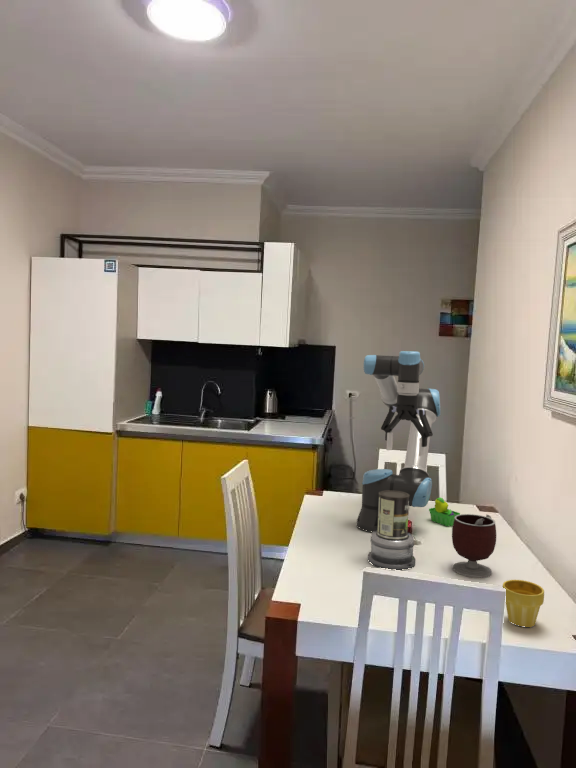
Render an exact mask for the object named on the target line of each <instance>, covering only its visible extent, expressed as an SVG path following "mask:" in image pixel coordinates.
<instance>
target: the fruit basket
mask: <svg viewBox="0 0 576 768" xmlns="http://www.w3.org/2000/svg"><path fill="white" fill-rule="evenodd" d="M434 503H435V504H434V507H431V508H428V511H429V515H430V519H431V522H434V523H437V524H439V525H442V526H445V527H453V523H454V518H455V516H457V515H461V512H458V511H456V510H455V511H454V510H451V509H448V507H449V503H448V502H447V501H445V500H444V499H443V497H437V498H436V499H435V500H434Z"/></svg>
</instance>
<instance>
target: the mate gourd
mask: <svg viewBox="0 0 576 768" xmlns="http://www.w3.org/2000/svg"><path fill="white" fill-rule="evenodd" d="M491 518H492V517H491ZM491 518H489V517H486V515H479V514H473V513H472V514H471V513H462V514H461V513H460V515H457V516H455V518H454V523H453V526H451V527H452V528H451V539H452V540H451V541H452V546H453V548H454V550H455V552H456V554H457V555H459V556H460V557H462V558H463V559H466V560H467V561H459V562H455V563H453V564H452V570H453V571H454V572H455V573H457V574H458V575H461V576H464V577H469V578H474V579H483V578H484V579H485V578H488V577H490V576H492V569H491V568H490V567H489V566H486V565H484V564H482V563H481V564H480V563H478V561H483V560H487V559H489V557H491V555H493V553H494V551H495V548H496V545H497V525H496V521H495V520H494V518H492V519H491Z"/></svg>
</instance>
